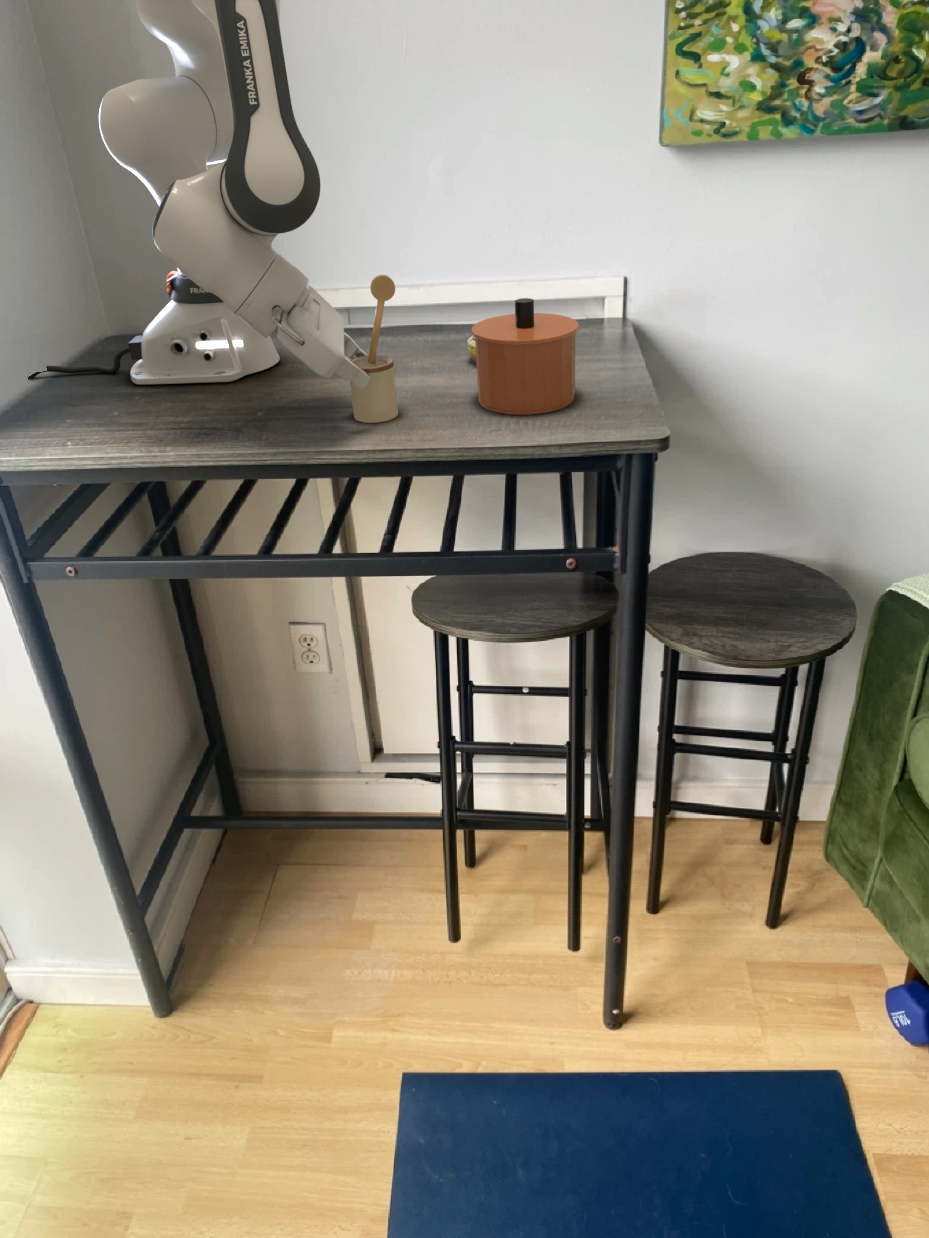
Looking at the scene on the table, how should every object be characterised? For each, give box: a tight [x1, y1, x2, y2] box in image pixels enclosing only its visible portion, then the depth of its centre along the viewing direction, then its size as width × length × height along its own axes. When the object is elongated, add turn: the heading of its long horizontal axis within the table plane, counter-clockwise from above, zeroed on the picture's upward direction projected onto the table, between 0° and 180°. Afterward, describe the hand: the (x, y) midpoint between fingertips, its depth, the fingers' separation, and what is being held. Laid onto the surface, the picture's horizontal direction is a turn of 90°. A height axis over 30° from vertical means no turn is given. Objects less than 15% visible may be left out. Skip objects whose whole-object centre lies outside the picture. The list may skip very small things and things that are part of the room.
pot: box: [475, 332, 577, 416], centre depth 122 cm, size 13×13×9 cm
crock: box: [349, 274, 399, 424], centre depth 118 cm, size 7×6×17 cm
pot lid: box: [471, 297, 579, 345], centre depth 119 cm, size 14×14×4 cm
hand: (366, 372), depth 119 cm, fingers open, 8 cm apart
